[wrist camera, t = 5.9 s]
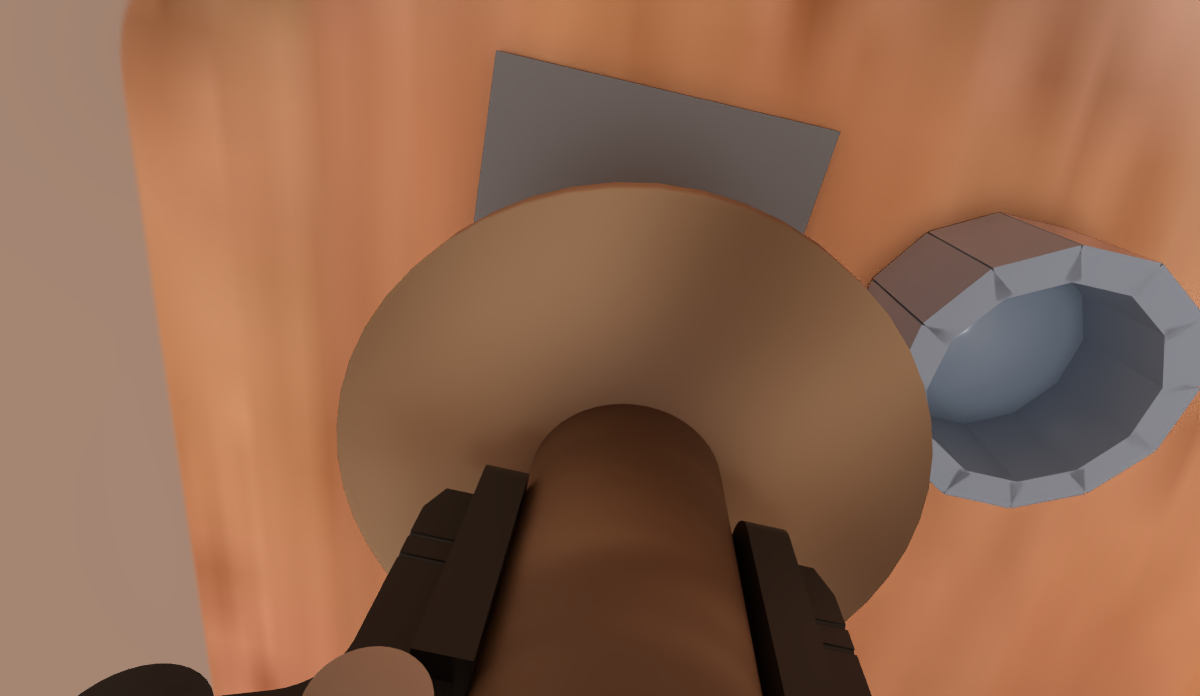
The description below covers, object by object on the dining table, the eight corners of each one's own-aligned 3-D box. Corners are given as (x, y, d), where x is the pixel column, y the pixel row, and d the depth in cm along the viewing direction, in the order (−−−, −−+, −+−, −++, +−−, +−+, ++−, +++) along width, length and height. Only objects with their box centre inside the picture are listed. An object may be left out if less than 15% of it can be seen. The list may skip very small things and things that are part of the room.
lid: (1024, 265, 10) (1915, 705, 3) (798, 699, 15) (942, 1288, 8) (371, 113, 10) (-337, 205, 3) (344, 603, 14) (48, 1120, 7)
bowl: (1153, 248, 24) (1271, 288, 20) (1026, 455, 28) (1100, 528, 24) (909, 191, 24) (971, 218, 19) (817, 408, 28) (851, 473, 23)
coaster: (836, 130, 23) (840, 132, 23) (733, 419, 28) (734, 425, 28) (499, 50, 23) (496, 50, 22) (458, 358, 28) (455, 363, 28)
